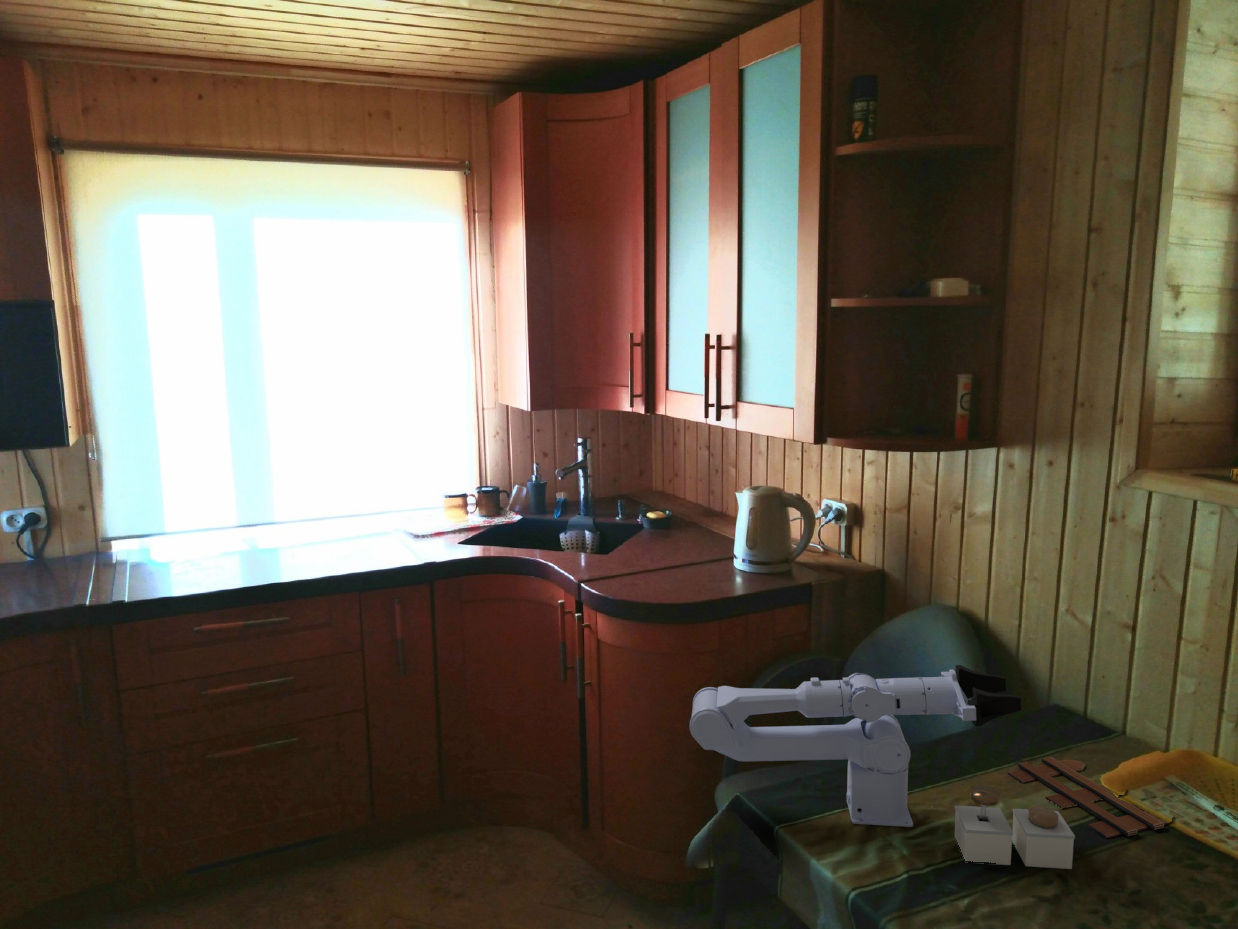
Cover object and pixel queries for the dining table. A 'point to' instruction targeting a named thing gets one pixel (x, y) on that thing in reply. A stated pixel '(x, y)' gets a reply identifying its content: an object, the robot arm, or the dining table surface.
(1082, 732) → the dining table surface
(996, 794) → the left press plunger
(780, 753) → the robot arm
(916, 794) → the dining table surface
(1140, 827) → the decorative fence
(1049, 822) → the block
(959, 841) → the left press
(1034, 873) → the dining table surface
